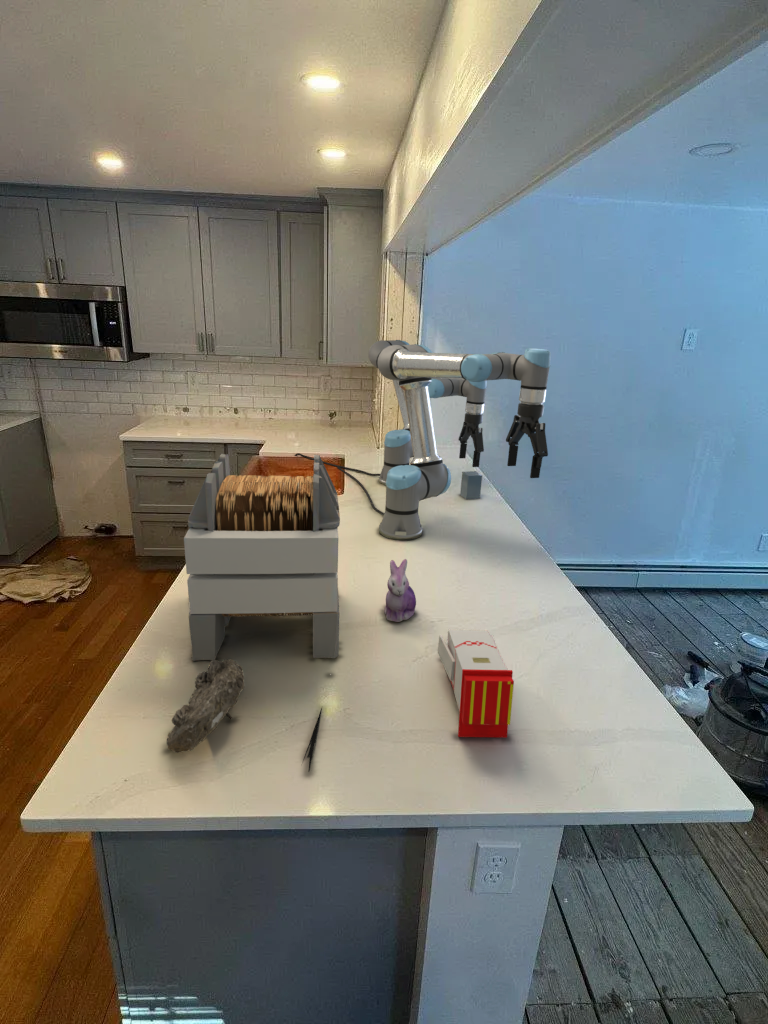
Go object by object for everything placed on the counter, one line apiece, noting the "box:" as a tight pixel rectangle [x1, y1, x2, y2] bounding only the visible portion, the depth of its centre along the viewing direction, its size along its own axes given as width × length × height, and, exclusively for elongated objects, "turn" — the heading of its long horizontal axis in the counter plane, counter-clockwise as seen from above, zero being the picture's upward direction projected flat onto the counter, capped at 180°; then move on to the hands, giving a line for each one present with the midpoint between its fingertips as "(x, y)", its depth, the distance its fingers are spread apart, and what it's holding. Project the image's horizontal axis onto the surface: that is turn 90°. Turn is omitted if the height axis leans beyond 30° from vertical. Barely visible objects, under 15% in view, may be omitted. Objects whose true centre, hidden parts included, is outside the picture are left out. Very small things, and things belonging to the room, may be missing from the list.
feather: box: [301, 673, 332, 771], centre depth 108 cm, size 2×28×2 cm
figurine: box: [384, 558, 417, 623], centre depth 145 cm, size 9×10×15 cm
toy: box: [437, 628, 515, 738], centre depth 117 cm, size 12×13×30 cm
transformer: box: [183, 453, 341, 662], centre depth 134 cm, size 34×33×41 cm
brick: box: [459, 470, 483, 500], centre depth 242 cm, size 6×6×10 cm
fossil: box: [166, 658, 245, 754], centre depth 106 cm, size 22×10×15 cm
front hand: (522, 471), depth 176 cm, fingers open, 13 cm apart
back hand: (468, 462), depth 244 cm, fingers open, 13 cm apart
